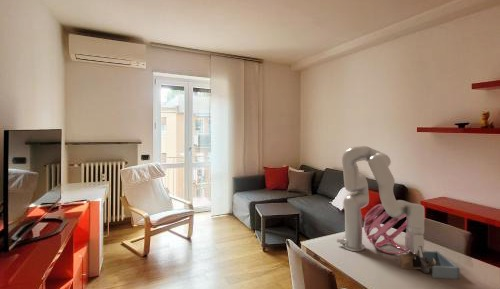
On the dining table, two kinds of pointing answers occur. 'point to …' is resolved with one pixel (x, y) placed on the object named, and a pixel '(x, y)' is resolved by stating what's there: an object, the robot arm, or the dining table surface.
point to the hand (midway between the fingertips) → (414, 264)
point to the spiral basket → (383, 229)
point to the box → (442, 266)
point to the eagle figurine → (430, 262)
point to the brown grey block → (407, 263)
